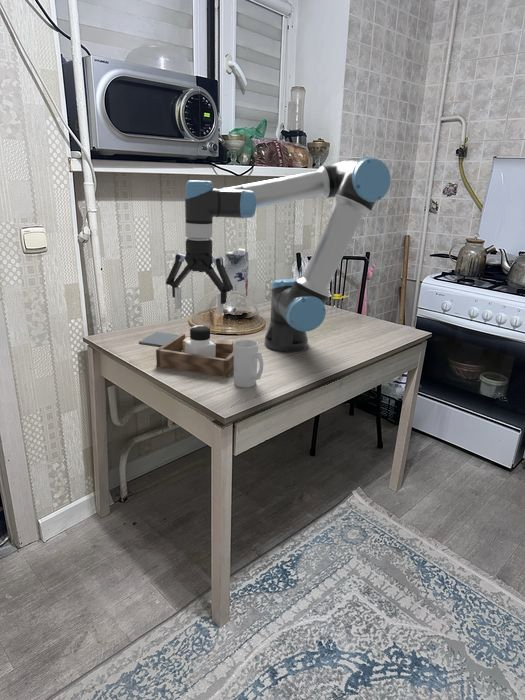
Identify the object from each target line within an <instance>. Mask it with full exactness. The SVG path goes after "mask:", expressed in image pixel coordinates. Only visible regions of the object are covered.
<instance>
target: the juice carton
mask: <svg viewBox="0 0 525 700" xmlns="http://www.w3.org/2000/svg"><path fill="white" fill-rule="evenodd" d="M224 255H225V256H224V268H225V270H226V272H227V275H228V277H229V279H230V282H231V284H232V286H233V290H232V291H238V292H240V293H242V294H244V295H246V296H247V297H248V295H249V294H248V293H249V291H248V290H249V251H247V250H246V249H244V248H238V249H237V250H229V251H228V252H226V253H225V254H224Z"/></svg>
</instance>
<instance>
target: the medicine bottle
mask: <svg viewBox="0 0 525 700" xmlns="http://www.w3.org/2000/svg"><path fill="white" fill-rule="evenodd" d="M189 336H190V340H189V341H185V353H190V354H196V355H203V356H209V357H216V344H214V343H213V342H214V341H211V328H210V327H208V326H206V325H199V324H198V325H193V326H192V327H191V328H189Z"/></svg>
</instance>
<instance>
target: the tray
mask: <svg viewBox="0 0 525 700" xmlns="http://www.w3.org/2000/svg"><path fill="white" fill-rule="evenodd" d="M178 335H179V336H177V337H175V338H174V339H172V340H171V341H169V342H168V343H166V344H165V345H163V346H161V347H160V346H159V347H158V348H157V349H156V350H155V358H156V359H155V360H156V366H157V367H159V368H160V367H161V368H167V369H171V370H178V371H179V370H180V371H185V372H191V373H196V374H197V373H198V374H204V375H210V376H216V377H221V378H228V377H230V376H231V375H232V374H233V373H234V350H233V352H232V353H231V354H230V355H229V356H228V357H227V358H226V359H222V358H216V357H209V356H203V355H196V354H190V353H183V340H184V339H185V336H186V334H185V333H180V334H178Z"/></svg>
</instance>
